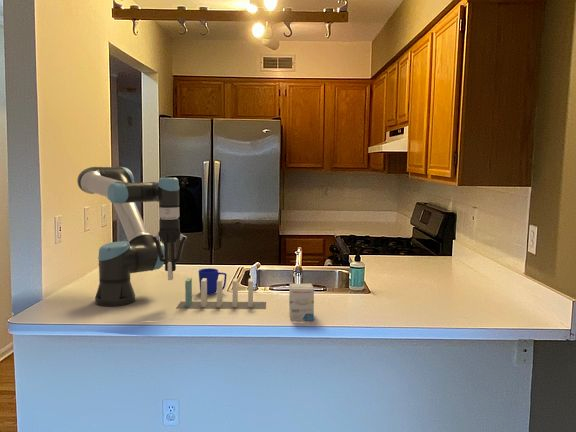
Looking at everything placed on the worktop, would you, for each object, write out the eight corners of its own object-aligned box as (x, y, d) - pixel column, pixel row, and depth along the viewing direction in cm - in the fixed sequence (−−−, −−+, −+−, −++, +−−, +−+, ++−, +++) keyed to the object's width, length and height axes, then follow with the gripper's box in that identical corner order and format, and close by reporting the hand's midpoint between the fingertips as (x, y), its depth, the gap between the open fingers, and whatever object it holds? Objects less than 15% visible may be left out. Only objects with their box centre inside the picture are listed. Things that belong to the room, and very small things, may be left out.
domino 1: (201, 306, 198) (200, 281, 197) (203, 303, 203) (202, 278, 202) (205, 306, 198) (205, 281, 197) (207, 303, 203) (206, 278, 202)
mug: (223, 297, 214) (223, 273, 213) (195, 295, 216) (195, 271, 215) (229, 292, 222) (229, 269, 221) (202, 290, 224) (202, 267, 223)
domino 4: (248, 307, 198) (248, 281, 197) (248, 303, 203) (248, 278, 202) (252, 307, 198) (252, 281, 197) (252, 303, 203) (253, 278, 202)
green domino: (185, 306, 198) (185, 281, 197) (187, 303, 203) (187, 278, 202) (189, 306, 198) (189, 281, 197) (191, 303, 203) (191, 278, 202)
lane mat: (175, 309, 195) (175, 308, 195) (180, 302, 205) (180, 301, 205) (265, 309, 196) (265, 308, 196) (266, 302, 206) (266, 301, 206)
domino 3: (232, 306, 198) (232, 281, 197) (233, 303, 203) (233, 278, 202) (236, 307, 198) (236, 281, 197) (237, 303, 203) (237, 278, 202)
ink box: (311, 313, 192) (312, 283, 190) (313, 320, 183) (314, 288, 182) (288, 313, 191) (289, 283, 190) (289, 320, 183) (290, 288, 182)
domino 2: (216, 306, 198) (216, 281, 197) (218, 303, 203) (218, 278, 202) (221, 306, 198) (220, 281, 197) (222, 303, 203) (222, 278, 202)
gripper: (149, 219, 193) (151, 281, 195) (184, 219, 193) (185, 281, 195) (154, 217, 200) (155, 277, 202) (188, 217, 200) (189, 277, 203)
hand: (170, 279), depth 199 cm, fingers closed
